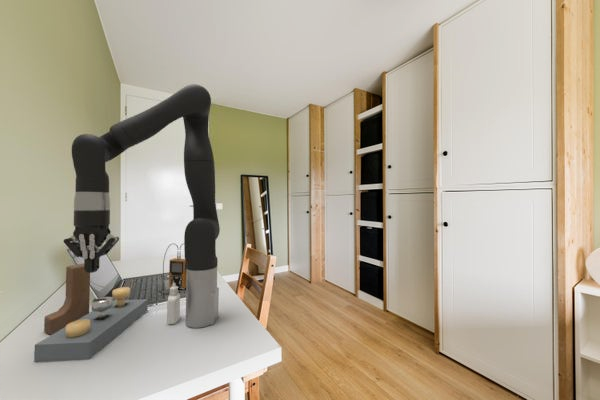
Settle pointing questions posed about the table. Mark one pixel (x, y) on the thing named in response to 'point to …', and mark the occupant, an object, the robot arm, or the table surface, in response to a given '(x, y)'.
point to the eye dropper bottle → (173, 305)
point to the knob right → (121, 295)
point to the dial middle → (102, 306)
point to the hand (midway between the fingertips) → (91, 271)
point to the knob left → (77, 328)
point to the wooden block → (71, 300)
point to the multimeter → (177, 271)
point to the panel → (90, 334)
